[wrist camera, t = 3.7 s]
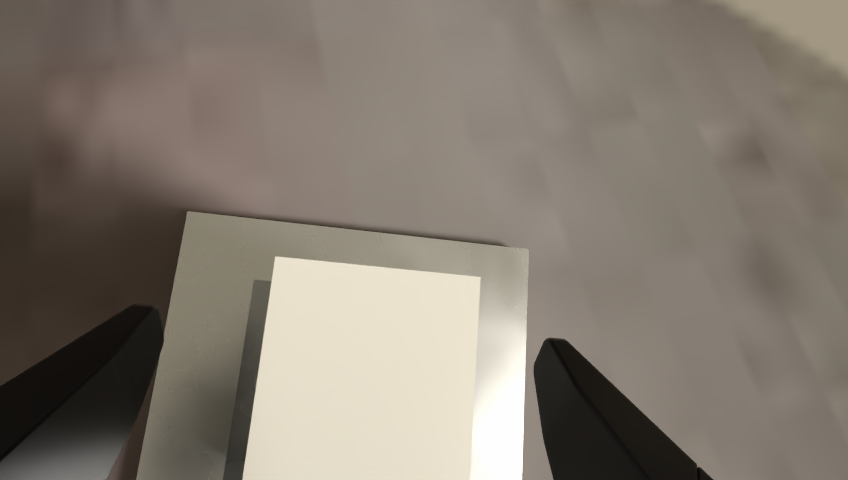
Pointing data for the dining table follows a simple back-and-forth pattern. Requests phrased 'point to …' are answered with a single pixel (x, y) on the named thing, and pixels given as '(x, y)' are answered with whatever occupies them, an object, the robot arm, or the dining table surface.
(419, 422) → the cream rectangular block
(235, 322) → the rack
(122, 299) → the dining table surface
